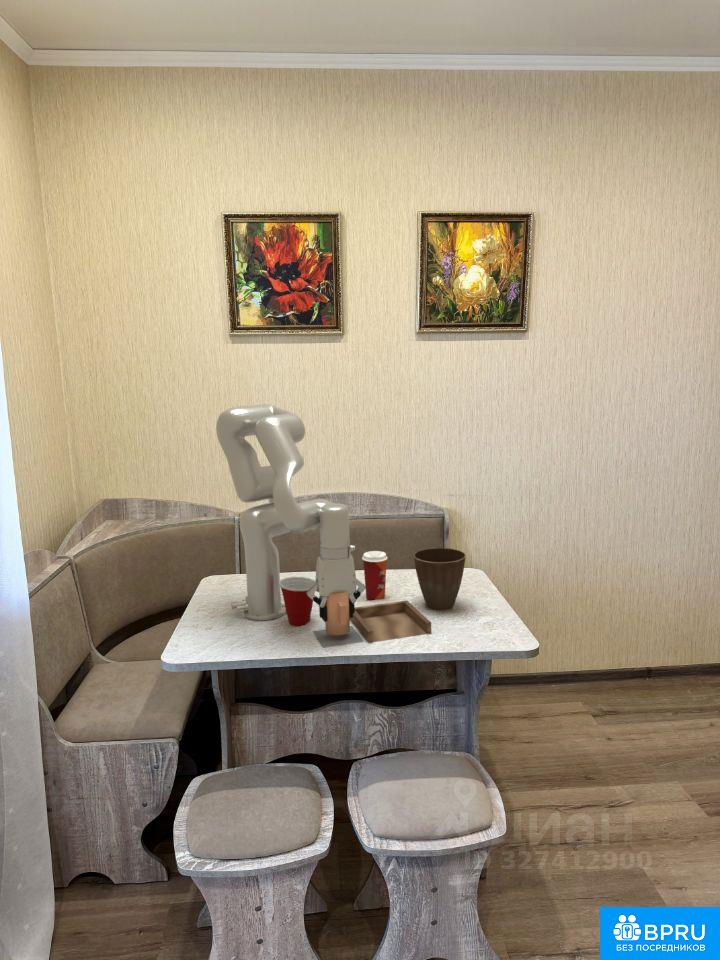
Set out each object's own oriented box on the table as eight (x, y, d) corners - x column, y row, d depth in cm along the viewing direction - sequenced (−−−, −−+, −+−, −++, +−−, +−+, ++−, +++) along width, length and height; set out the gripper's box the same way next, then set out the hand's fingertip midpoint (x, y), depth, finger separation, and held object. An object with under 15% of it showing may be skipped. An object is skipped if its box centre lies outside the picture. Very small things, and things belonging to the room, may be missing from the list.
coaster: (322, 649, 172) (322, 647, 172) (312, 633, 182) (312, 631, 182) (364, 643, 175) (364, 641, 175) (351, 627, 186) (351, 625, 186)
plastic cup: (316, 630, 184) (315, 588, 182) (277, 630, 185) (275, 588, 183) (321, 615, 195) (320, 575, 193) (284, 615, 196) (282, 575, 194)
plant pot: (408, 614, 194) (408, 560, 192) (419, 596, 208) (419, 546, 206) (461, 619, 190) (461, 564, 187) (468, 600, 204) (469, 549, 201)
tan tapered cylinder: (322, 627, 181) (321, 587, 179) (345, 624, 182) (344, 585, 180) (331, 641, 172) (330, 599, 170) (356, 637, 174) (355, 596, 172)
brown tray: (368, 644, 174) (368, 631, 174) (349, 620, 191) (348, 608, 190) (431, 635, 180) (431, 622, 179) (407, 612, 196) (407, 600, 195)
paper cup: (388, 602, 204) (387, 557, 202) (362, 602, 204) (361, 557, 202) (387, 593, 212) (387, 550, 209) (363, 593, 212) (362, 550, 209)
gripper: (362, 544, 181) (364, 608, 184) (299, 551, 176) (301, 617, 179) (371, 552, 174) (373, 618, 177) (305, 559, 169) (308, 628, 172)
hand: (337, 617), depth 178 cm, fingers closed on tan tapered cylinder, 6 cm apart
